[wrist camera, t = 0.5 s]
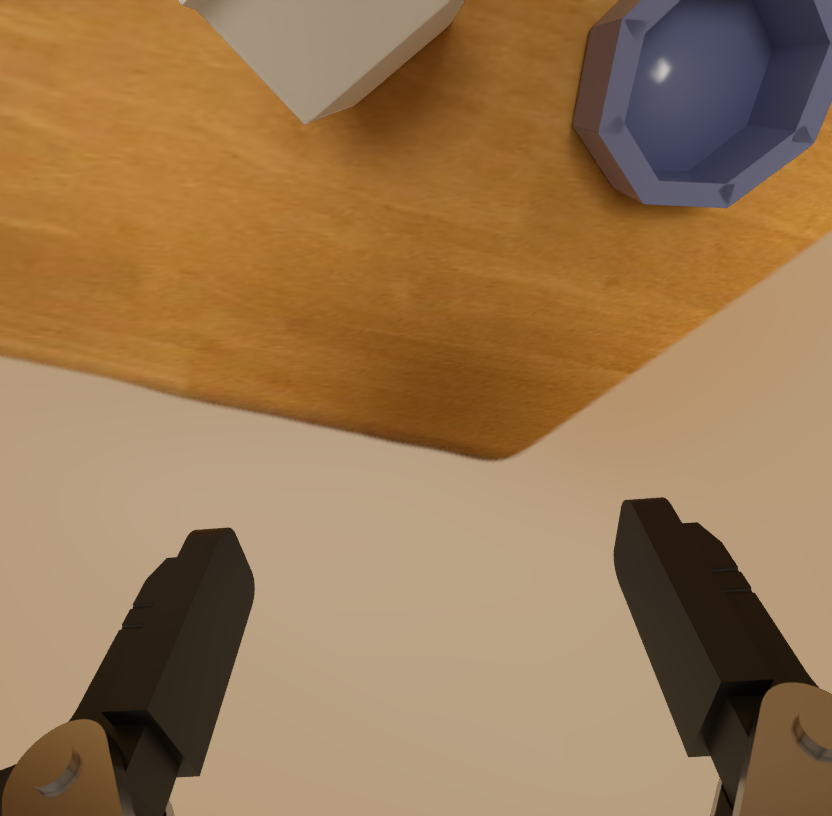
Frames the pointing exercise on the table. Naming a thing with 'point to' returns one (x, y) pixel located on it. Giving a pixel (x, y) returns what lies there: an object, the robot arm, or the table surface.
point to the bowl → (703, 94)
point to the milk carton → (326, 44)
